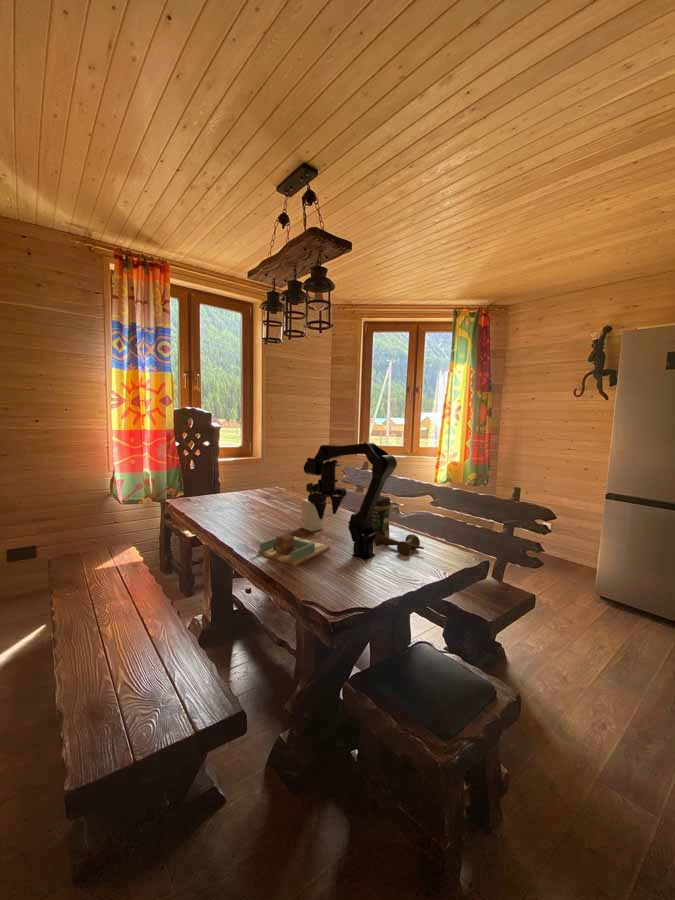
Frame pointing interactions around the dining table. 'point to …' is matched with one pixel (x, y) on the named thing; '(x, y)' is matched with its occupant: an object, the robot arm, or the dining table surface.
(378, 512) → the coffee jar
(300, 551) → the housing
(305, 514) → the small box
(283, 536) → the block
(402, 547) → the kendama
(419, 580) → the dining table surface
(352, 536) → the robot arm
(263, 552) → the board
